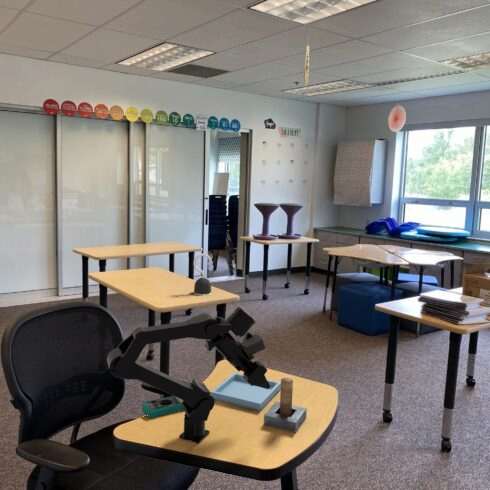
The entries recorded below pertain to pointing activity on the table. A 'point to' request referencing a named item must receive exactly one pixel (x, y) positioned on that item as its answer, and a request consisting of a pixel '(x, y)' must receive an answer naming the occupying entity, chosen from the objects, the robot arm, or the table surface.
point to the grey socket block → (285, 417)
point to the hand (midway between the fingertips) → (262, 381)
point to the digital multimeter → (162, 406)
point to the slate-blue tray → (245, 392)
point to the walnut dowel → (286, 397)
